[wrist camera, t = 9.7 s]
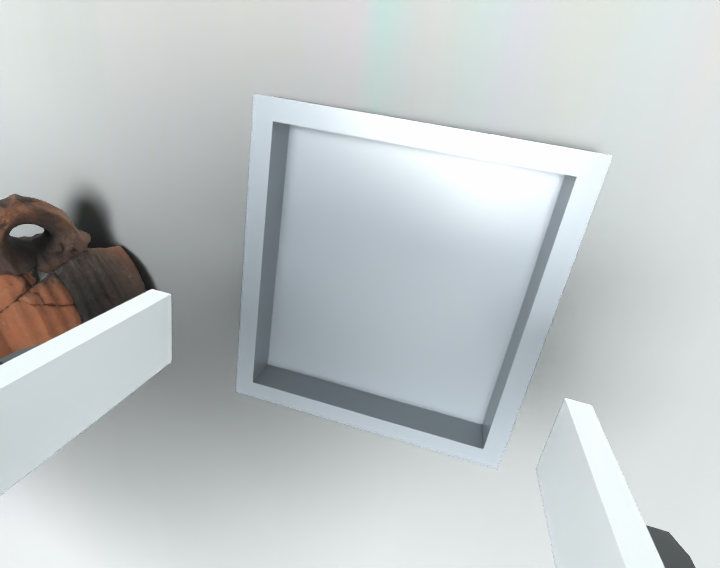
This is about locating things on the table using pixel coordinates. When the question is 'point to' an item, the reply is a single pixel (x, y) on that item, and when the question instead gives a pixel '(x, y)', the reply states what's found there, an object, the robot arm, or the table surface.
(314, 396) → the tray
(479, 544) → the table surface
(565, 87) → the table surface
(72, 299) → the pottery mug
